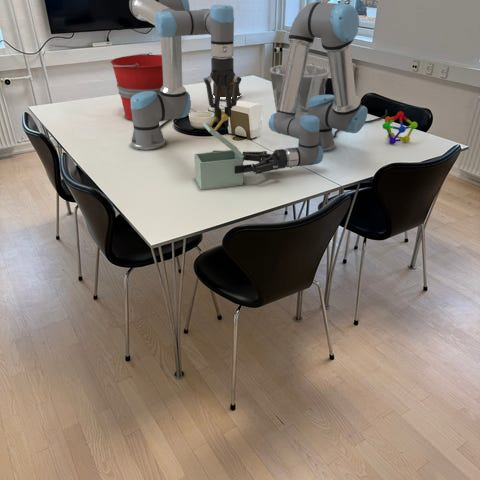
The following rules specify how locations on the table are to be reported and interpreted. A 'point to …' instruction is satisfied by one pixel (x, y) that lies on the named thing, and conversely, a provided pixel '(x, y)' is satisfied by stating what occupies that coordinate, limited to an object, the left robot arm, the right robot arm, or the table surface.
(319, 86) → the bucket
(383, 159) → the table surface
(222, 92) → the bell
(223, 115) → the lid
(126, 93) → the bucket
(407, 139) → the educational toy
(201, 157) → the chest
